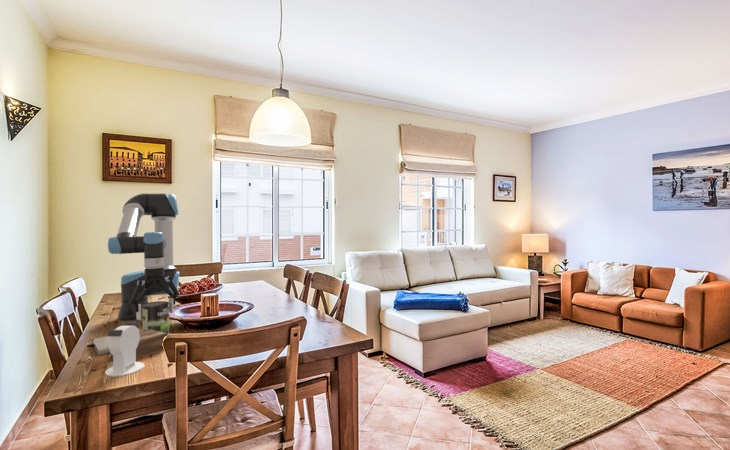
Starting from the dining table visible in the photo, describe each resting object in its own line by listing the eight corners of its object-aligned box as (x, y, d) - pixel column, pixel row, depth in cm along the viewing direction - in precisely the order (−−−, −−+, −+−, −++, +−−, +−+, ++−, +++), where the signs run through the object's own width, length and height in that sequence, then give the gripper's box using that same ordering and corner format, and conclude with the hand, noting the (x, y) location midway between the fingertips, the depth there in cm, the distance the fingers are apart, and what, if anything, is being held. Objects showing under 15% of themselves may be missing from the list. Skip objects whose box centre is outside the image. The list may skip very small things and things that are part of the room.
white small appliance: (120, 362, 135) (119, 321, 134) (152, 361, 135) (150, 320, 134) (97, 376, 123) (95, 331, 122) (131, 376, 123) (130, 331, 122)
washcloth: (125, 338, 162) (125, 331, 162) (134, 348, 149) (134, 341, 149) (91, 344, 154) (91, 337, 154) (98, 357, 141) (97, 348, 141)
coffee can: (174, 332, 168) (174, 301, 167) (157, 340, 158) (156, 307, 157) (155, 331, 170) (154, 300, 169) (136, 338, 160) (135, 306, 159)
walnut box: (119, 353, 144) (119, 336, 144) (150, 343, 155) (149, 328, 155) (137, 358, 138) (137, 341, 138) (168, 348, 149) (167, 332, 149)
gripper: (126, 271, 150) (128, 324, 151) (186, 264, 171) (187, 311, 171) (118, 270, 155) (120, 321, 155) (178, 263, 175) (179, 308, 175)
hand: (155, 316), depth 163 cm, fingers open, 13 cm apart
